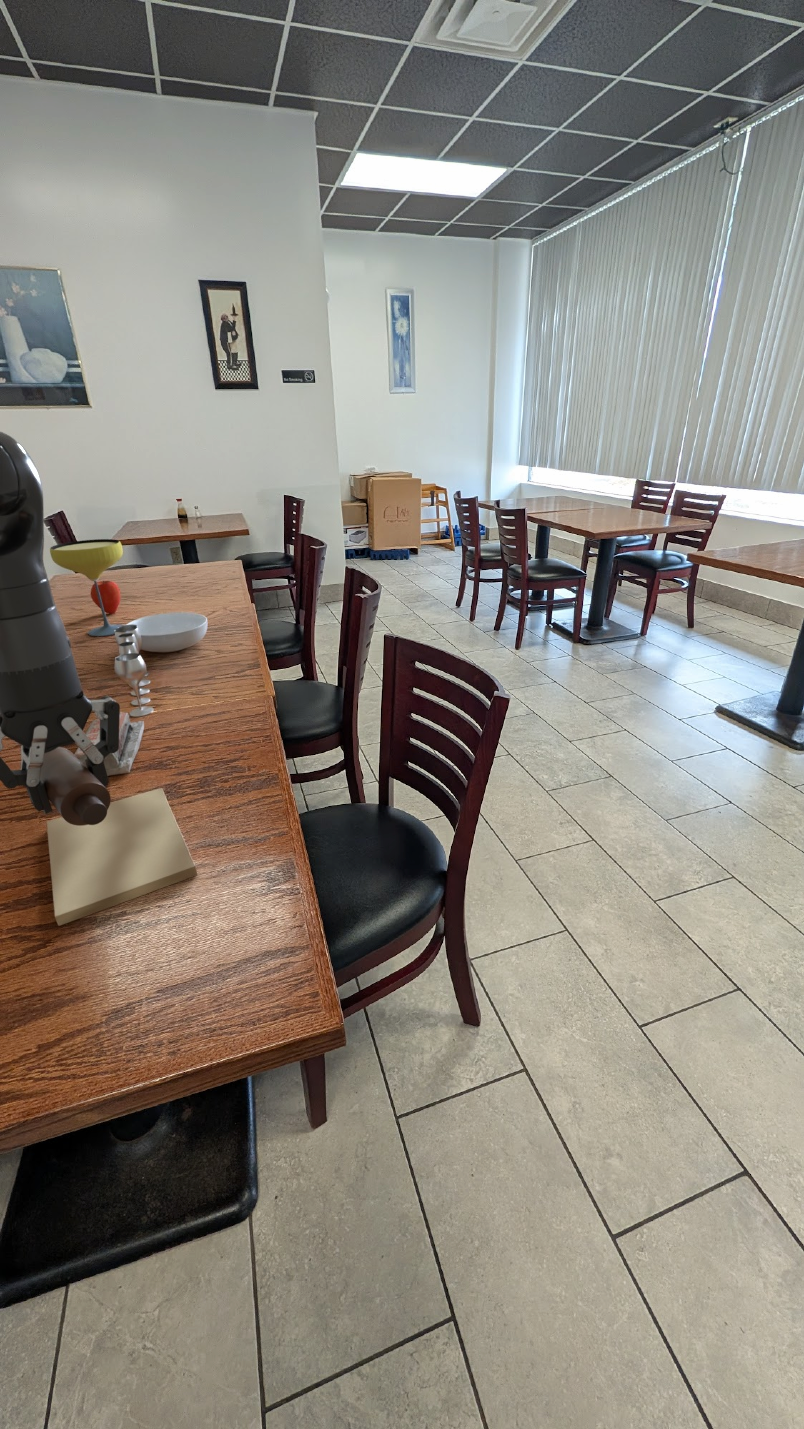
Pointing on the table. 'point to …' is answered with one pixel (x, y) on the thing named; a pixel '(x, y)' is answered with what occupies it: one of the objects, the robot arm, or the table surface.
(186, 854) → the pastry board
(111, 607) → the apple
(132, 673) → the goblet set
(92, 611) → the table surface
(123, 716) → the packaged product
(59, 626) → the robot arm
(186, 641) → the serving bowl
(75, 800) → the rolling pin
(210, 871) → the table surface
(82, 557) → the cocktail glass
